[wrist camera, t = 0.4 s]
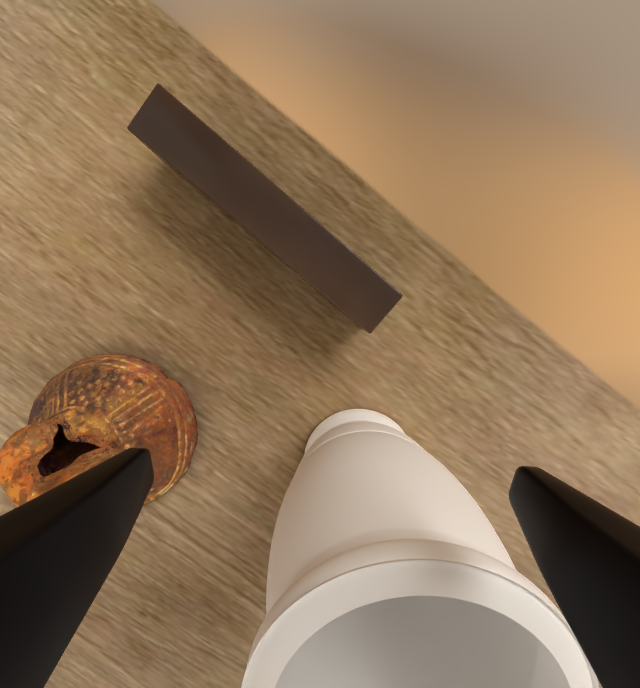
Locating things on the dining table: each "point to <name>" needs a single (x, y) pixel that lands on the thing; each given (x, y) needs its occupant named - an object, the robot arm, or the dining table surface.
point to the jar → (398, 578)
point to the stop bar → (262, 209)
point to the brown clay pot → (100, 426)
